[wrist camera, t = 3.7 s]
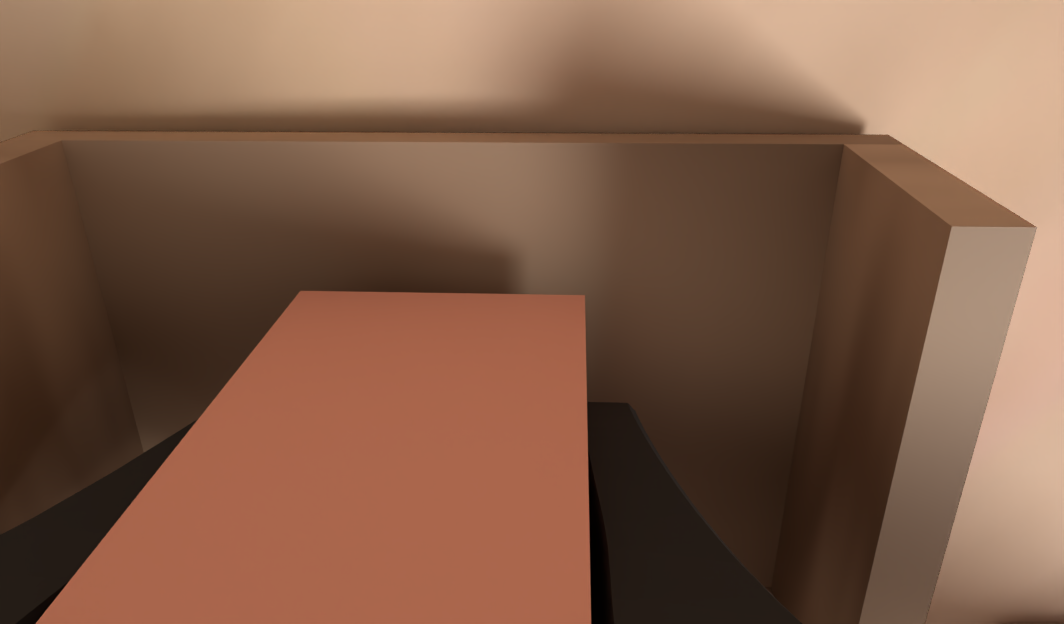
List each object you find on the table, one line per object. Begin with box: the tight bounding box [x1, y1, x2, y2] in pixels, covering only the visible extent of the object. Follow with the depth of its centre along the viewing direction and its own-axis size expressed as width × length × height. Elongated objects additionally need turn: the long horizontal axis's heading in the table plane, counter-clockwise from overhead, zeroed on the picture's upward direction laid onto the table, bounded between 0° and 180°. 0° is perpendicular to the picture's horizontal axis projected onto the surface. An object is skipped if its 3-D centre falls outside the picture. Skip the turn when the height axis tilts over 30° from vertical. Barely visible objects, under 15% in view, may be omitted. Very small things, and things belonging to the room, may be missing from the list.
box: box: [0, 131, 1037, 624], centre depth 12 cm, size 9×13×4 cm
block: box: [36, 291, 591, 624], centre depth 9 cm, size 4×4×6 cm
